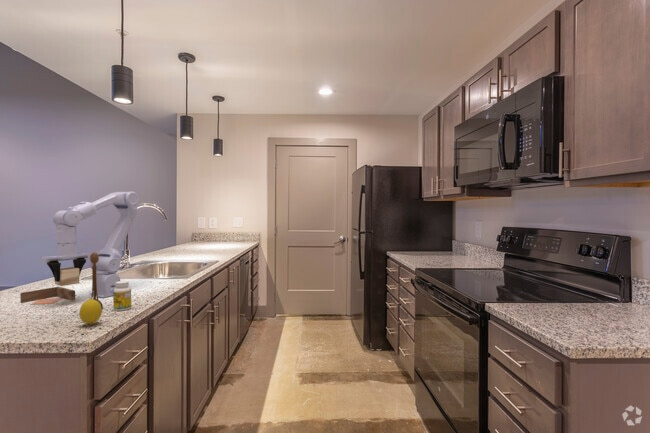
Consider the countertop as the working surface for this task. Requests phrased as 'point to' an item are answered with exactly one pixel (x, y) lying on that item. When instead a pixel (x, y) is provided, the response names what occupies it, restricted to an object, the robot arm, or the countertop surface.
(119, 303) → the supplement bottle
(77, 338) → the countertop surface
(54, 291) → the brown wooden l-shaped block
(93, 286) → the wooden tabletop sculpture
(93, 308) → the lemon
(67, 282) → the maple cube
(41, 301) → the pad
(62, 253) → the robot arm
